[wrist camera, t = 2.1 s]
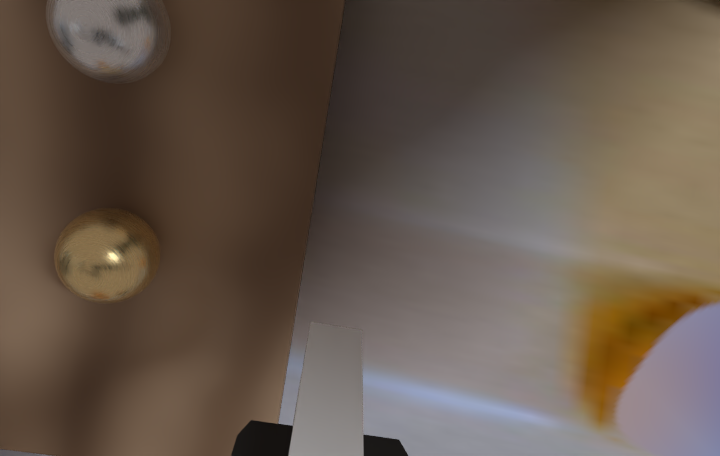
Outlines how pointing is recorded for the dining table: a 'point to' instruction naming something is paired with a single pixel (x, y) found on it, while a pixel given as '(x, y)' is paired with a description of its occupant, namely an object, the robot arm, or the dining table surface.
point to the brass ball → (107, 255)
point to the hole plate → (160, 226)
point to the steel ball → (111, 36)
